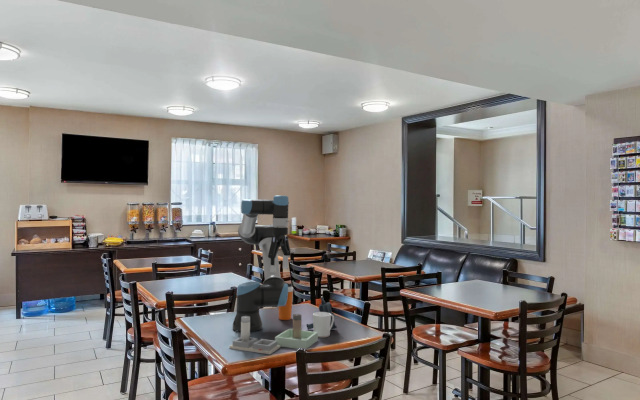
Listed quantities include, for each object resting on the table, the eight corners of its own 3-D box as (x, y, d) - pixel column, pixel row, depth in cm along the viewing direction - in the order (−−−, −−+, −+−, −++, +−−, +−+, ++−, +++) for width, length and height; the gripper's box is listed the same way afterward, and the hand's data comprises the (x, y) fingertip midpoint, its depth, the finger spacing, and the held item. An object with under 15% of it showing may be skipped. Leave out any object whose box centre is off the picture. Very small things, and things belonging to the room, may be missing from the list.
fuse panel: (229, 348, 186) (229, 341, 186) (241, 341, 195) (241, 335, 195) (269, 354, 179) (270, 347, 179) (280, 347, 188) (280, 340, 188)
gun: (301, 301, 220) (329, 294, 219) (309, 333, 219) (337, 326, 219) (300, 303, 217) (329, 295, 217) (308, 335, 216) (337, 327, 216)
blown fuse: (291, 341, 194) (291, 315, 195) (294, 339, 198) (295, 313, 198) (299, 342, 193) (299, 316, 193) (302, 340, 197) (302, 314, 197)
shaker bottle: (284, 315, 246) (284, 281, 246) (296, 318, 240) (296, 282, 241) (273, 318, 238) (274, 283, 239) (285, 321, 233) (286, 285, 234)
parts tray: (274, 345, 191) (274, 337, 191) (288, 336, 205) (288, 328, 205) (305, 349, 186) (305, 341, 186) (317, 340, 200) (317, 332, 200)
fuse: (238, 344, 188) (239, 317, 188) (243, 342, 192) (244, 315, 192) (246, 346, 186) (247, 318, 187) (251, 343, 190) (251, 316, 190)
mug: (316, 338, 202) (317, 317, 203) (309, 333, 211) (310, 312, 211) (337, 336, 207) (337, 315, 207) (329, 331, 215) (330, 311, 215)
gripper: (275, 227, 195) (274, 274, 194) (297, 226, 218) (296, 267, 218) (261, 227, 198) (260, 273, 197) (284, 226, 221) (283, 266, 220)
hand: (279, 270), depth 207 cm, fingers open, 13 cm apart
